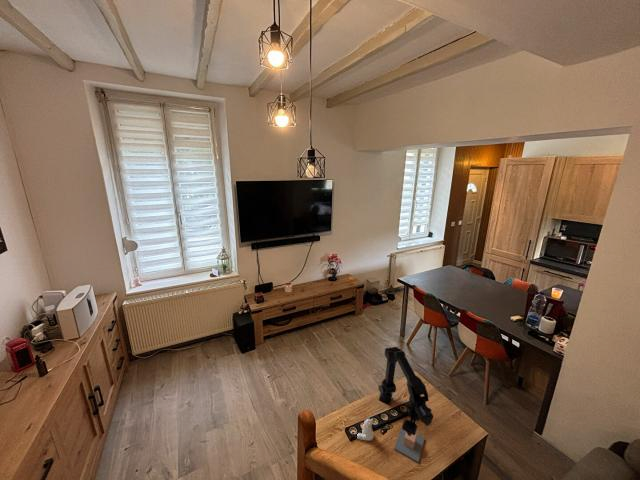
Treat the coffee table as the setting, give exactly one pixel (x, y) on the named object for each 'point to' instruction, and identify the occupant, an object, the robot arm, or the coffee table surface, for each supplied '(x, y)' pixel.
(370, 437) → the white creature statuette
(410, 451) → the charcoal mat
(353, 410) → the coffee table surface
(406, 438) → the terracotta cube
